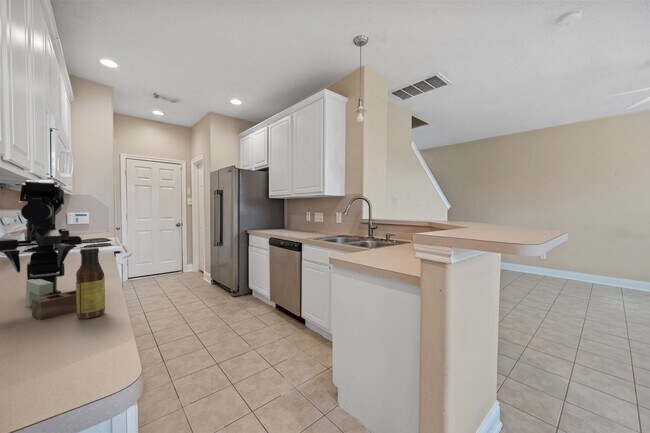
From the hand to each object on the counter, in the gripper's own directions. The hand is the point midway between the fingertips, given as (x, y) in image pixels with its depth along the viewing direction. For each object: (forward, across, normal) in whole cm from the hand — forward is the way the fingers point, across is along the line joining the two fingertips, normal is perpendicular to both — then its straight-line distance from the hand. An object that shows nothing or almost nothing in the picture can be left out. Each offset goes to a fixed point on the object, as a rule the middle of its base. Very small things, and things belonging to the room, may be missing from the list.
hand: (40, 269), depth 82 cm
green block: (+12, 0, -1) cm, 12 cm away
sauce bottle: (+12, +4, -23) cm, 26 cm away
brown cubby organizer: (+12, +2, -12) cm, 17 cm away
